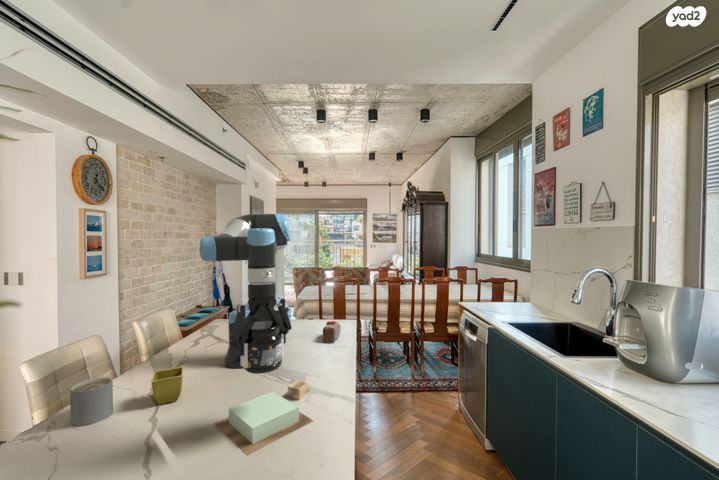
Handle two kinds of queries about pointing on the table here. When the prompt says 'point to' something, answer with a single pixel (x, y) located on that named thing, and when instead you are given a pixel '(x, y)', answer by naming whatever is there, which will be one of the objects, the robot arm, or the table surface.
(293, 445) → the table surface
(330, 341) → the food item
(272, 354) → the supplement container
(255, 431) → the pedestal slab
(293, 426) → the board
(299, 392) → the block
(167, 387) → the flower pot
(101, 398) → the coffee mug
